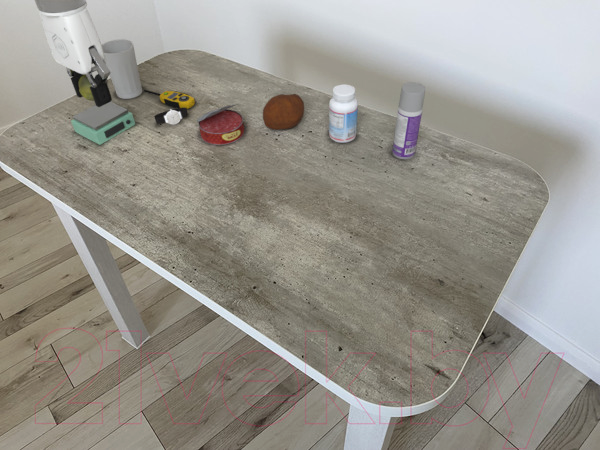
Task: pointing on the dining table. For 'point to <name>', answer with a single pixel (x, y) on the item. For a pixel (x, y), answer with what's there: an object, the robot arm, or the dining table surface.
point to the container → (408, 120)
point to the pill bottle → (343, 114)
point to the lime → (85, 88)
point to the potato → (283, 111)
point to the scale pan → (100, 115)
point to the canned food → (221, 126)
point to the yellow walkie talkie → (175, 99)
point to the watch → (171, 116)
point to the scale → (105, 129)
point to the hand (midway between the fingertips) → (94, 98)
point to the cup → (123, 68)
